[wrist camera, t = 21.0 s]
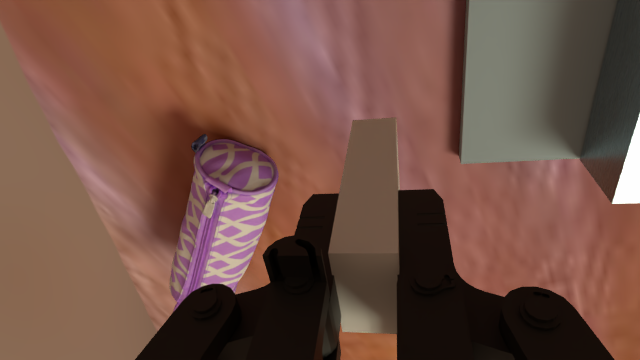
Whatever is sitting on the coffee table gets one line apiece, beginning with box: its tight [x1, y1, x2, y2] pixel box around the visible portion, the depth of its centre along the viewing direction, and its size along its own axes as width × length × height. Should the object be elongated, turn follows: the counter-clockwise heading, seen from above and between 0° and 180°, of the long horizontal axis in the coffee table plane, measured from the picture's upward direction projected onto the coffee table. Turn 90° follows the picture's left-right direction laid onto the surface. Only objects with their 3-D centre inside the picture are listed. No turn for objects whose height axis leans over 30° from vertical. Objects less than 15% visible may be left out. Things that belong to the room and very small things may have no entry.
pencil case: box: [170, 134, 278, 312], centre depth 46 cm, size 22×9×10 cm, turn 162°
